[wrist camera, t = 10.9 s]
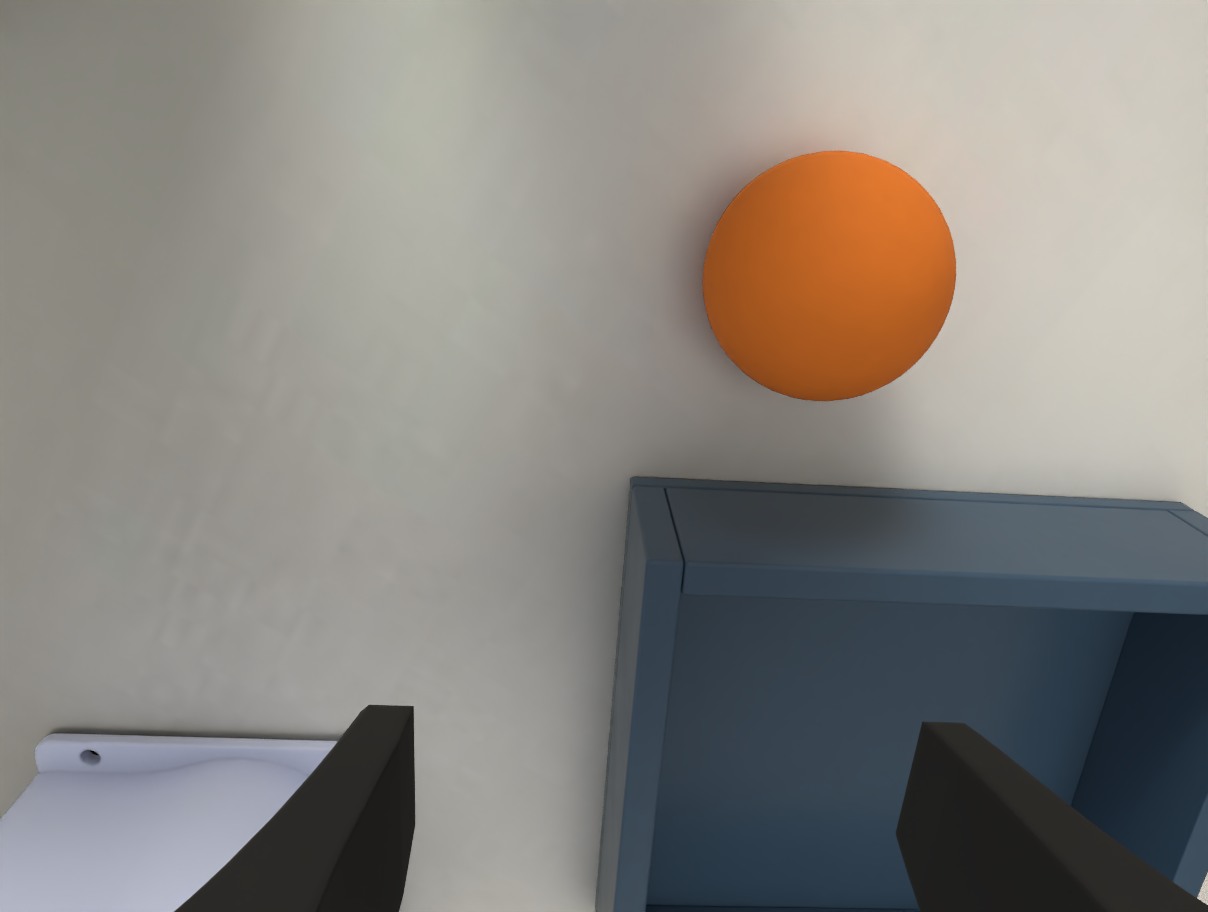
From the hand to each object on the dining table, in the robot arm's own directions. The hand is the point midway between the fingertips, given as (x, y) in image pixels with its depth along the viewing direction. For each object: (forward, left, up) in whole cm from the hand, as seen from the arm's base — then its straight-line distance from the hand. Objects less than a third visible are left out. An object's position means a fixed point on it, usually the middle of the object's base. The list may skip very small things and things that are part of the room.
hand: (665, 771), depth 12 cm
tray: (+8, -7, -10) cm, 15 cm away
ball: (+4, +6, -8) cm, 10 cm away
